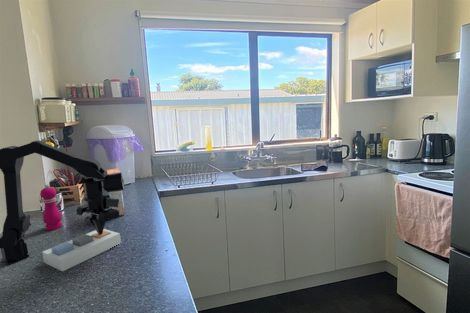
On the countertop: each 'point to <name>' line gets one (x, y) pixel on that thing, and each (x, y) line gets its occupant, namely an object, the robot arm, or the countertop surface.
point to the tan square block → (100, 234)
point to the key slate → (62, 248)
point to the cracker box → (117, 194)
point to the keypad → (81, 251)
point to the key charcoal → (82, 240)
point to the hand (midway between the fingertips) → (100, 233)
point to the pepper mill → (50, 209)
